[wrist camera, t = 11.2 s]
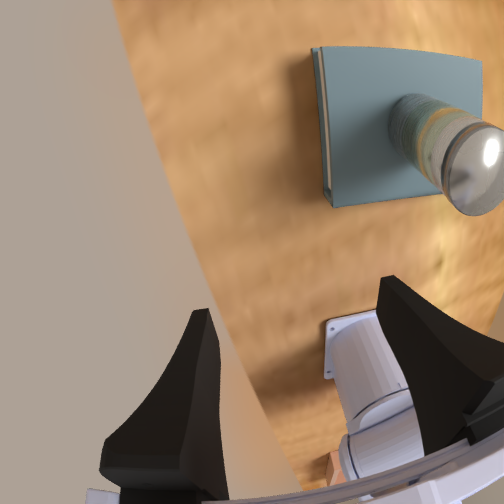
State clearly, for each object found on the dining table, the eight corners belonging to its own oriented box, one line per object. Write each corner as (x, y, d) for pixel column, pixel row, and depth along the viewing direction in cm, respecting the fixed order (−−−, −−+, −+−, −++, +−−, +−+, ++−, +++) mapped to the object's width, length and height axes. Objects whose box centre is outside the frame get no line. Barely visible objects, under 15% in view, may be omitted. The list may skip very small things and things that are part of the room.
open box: (394, 455, 58) (398, 469, 55) (325, 474, 58) (328, 489, 55) (413, 427, 49) (420, 444, 45) (330, 452, 49) (334, 470, 46)
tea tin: (449, 152, 18) (513, 204, 12) (392, 167, 19) (448, 227, 13) (443, 87, 15) (518, 121, 10) (381, 99, 16) (446, 136, 10)
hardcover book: (457, 178, 22) (474, 190, 20) (323, 193, 22) (333, 208, 20) (461, 58, 16) (481, 61, 14) (310, 48, 16) (322, 46, 14)
